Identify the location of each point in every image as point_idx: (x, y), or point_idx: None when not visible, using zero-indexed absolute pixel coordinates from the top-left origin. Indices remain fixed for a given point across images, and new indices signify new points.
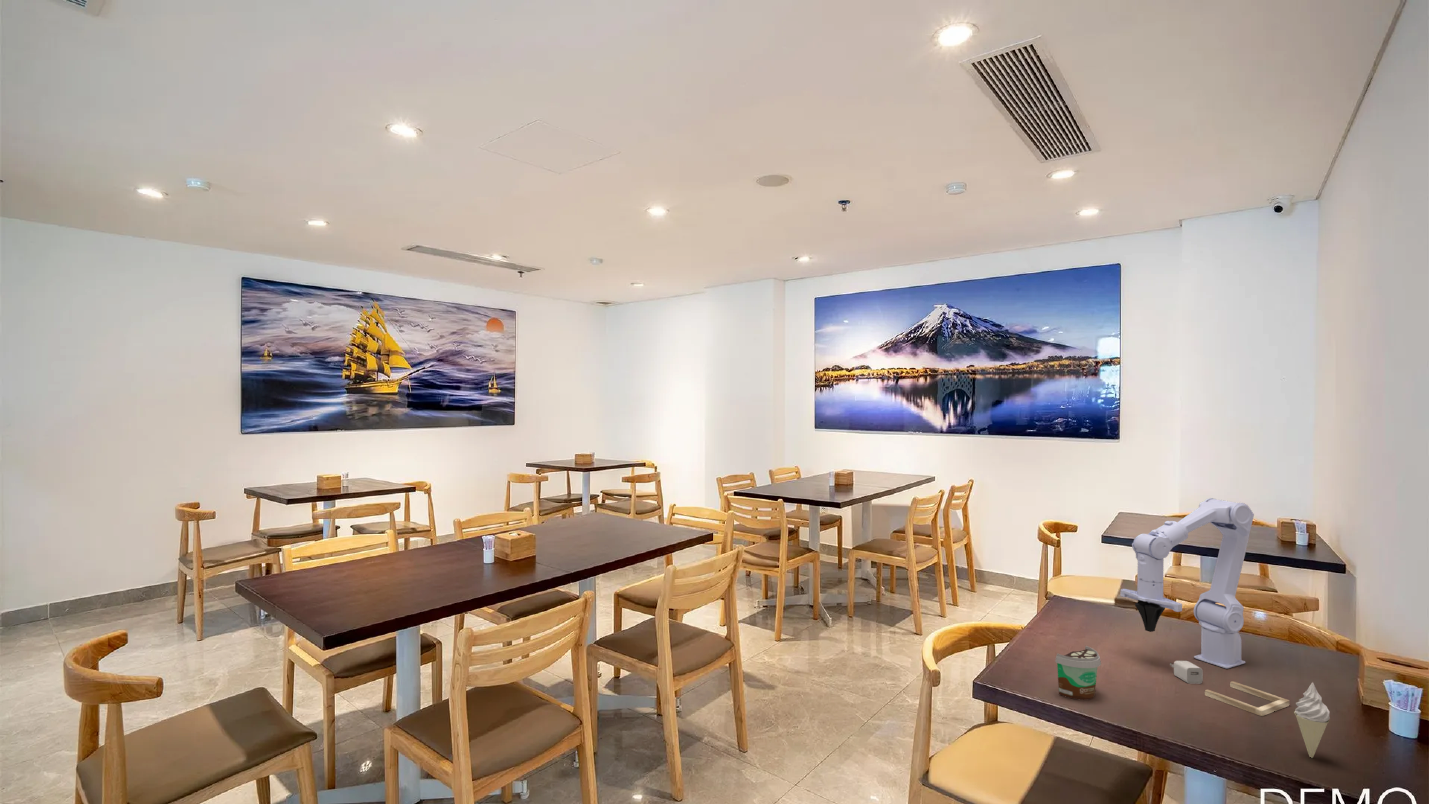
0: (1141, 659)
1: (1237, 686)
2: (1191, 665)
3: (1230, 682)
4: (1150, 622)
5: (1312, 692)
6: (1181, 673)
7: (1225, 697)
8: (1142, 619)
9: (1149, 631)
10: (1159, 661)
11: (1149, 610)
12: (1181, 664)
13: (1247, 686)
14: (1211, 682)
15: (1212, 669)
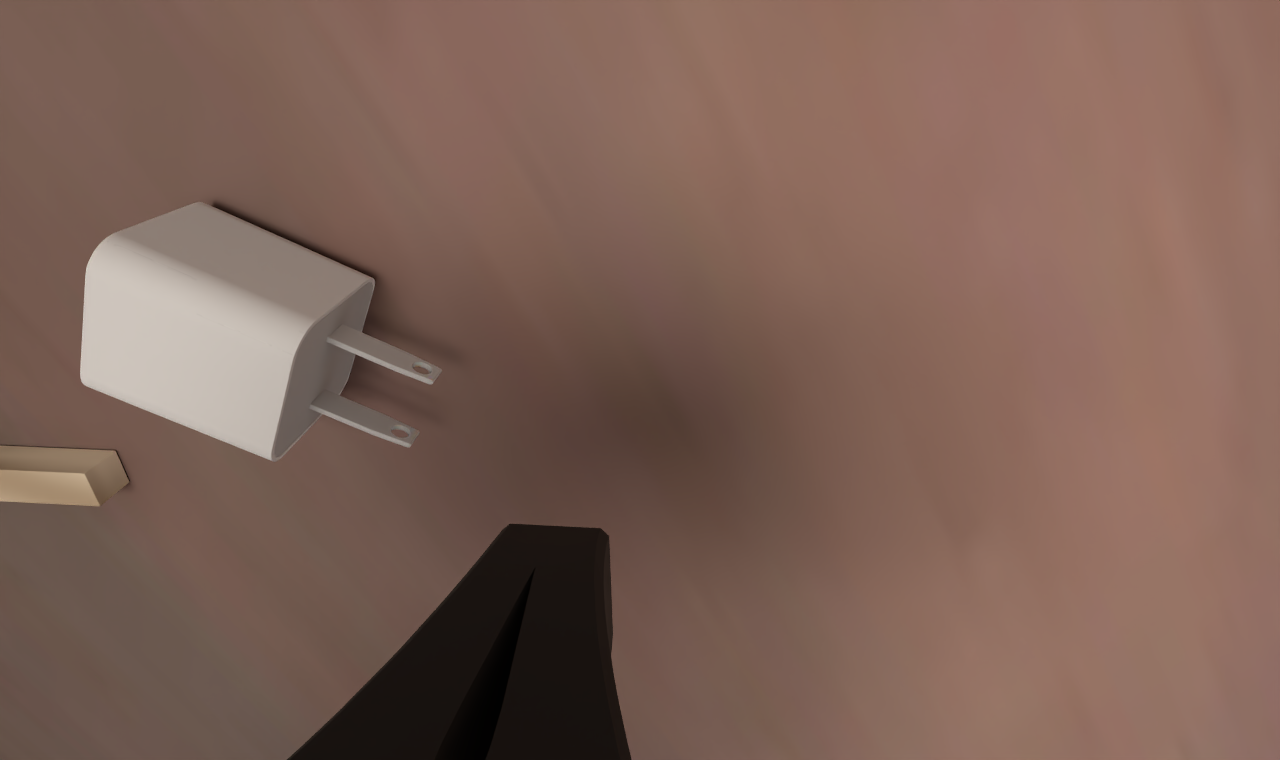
0: (762, 403)
1: (50, 461)
2: (146, 363)
3: (84, 471)
4: (389, 669)
5: None
6: (237, 246)
7: None
8: (603, 698)
9: (520, 527)
10: (656, 492)
11: None
12: (197, 302)
13: (2, 496)
14: None
15: None
